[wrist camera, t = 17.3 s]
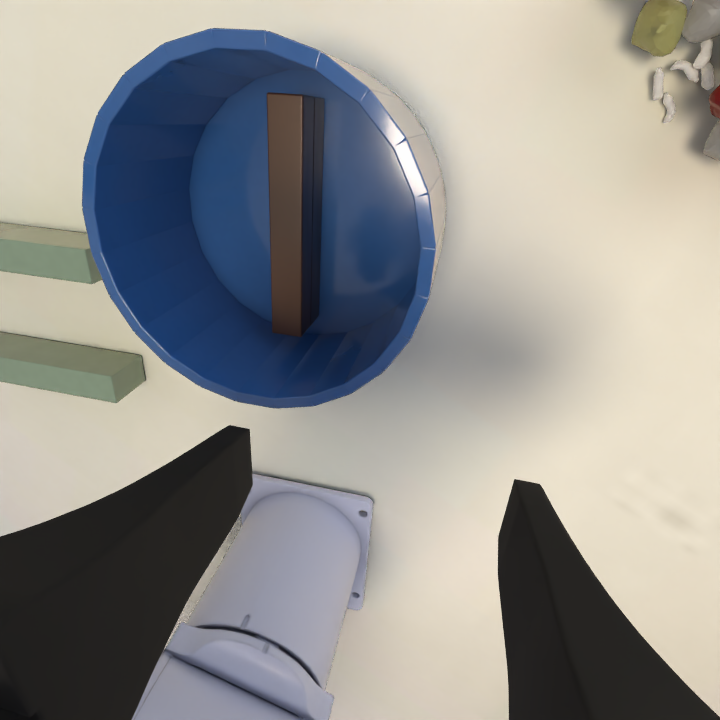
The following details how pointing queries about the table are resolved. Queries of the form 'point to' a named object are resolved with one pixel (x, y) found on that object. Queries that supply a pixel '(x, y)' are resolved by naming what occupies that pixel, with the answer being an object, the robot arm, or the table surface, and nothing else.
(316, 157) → the chopstick
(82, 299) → the table surface
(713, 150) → the molecular model
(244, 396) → the blue round bowl
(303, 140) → the chopstick
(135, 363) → the miniature wooden rack
